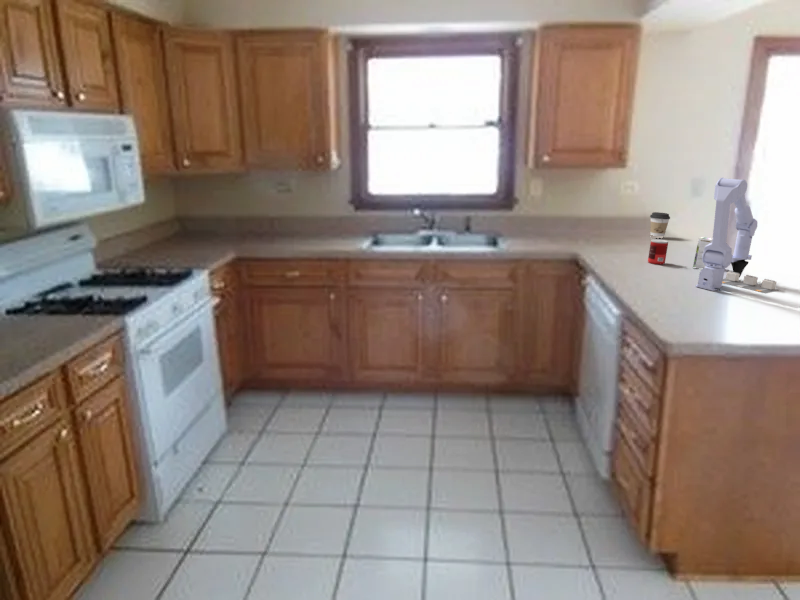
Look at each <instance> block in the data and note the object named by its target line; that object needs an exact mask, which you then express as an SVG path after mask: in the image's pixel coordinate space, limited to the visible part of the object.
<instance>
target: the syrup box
mask: <svg viewBox="0 0 800 600" xmlns="http://www.w3.org/2000/svg"><path fill="white" fill-rule="evenodd" d="M712 239H713V237H712V238H711V237H707V236H701V237H698V240H697V245H696V250H695V255H694V260H693V266H692V268H693V267H696V268H705V266H706V265H704V263H703V261H702V254H703V252H704V247H705V246H706V245H708V244H710V243H712Z"/></svg>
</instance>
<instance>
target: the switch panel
mask: <svg viewBox="0 0 800 600" xmlns="http://www.w3.org/2000/svg"><path fill="white" fill-rule="evenodd" d="M743 281H744V280H743ZM743 281H742V280H739V281H731V280H727V279H726V277H724V278H723V282H722V285H723V284H724V285H728V286H732V287H736V288H741V289H745V290H749V291H752V292H759V293H762V294H769V293H774V292H779V291H780V289H779V288H778V289H777V288H775V289H772V290H771V289H766V288H762V287H761V286H762V284H761V285H760V284H756V285H749V284H744V283H743Z"/></svg>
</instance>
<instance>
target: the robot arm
mask: <svg viewBox="0 0 800 600" xmlns="http://www.w3.org/2000/svg"><path fill="white" fill-rule="evenodd" d="M747 188H748V182H747V180H746V179H738V178H726V177H720V178H719V179H718V180H717V181H716V183H715V185H714V192H713V193H714V195H713V199H714V200H715V211H714V219H713V229H712V238H713V239H712V243H710V244H708V245H706V246H705V247H704V252H703V254H702V261H703V263H704V265H706V266H705V268H703V269H700V272H699V274H698V275H699V276H698V280H697V284H696V285H695V287H696V288H701V289H704V290H709V291H713V292H714V291H720V290H721V289H720V288H722V287H723V283H722V282H723V279H724V275H725V271H726V270H725V269H726V268H729V266H731V267H732V268H731V269H732V272H736V273H739V274H740V276H739V279H740V277H741V276H742V274H743V272H744V270H745V268H746V267H747V266H748V264H749V261H750V260H752V257H753V255H752V254H750V251H751V250H750V249H751V244H752V241H753V237H754V236H755V233H756V230H757V228H758V220H757V219H756V218H754V216H753V214H752V210H751V207H750V205H748V204H747V203H746V202H747V201H746V192H747ZM732 203H734V205H735V208H734V213H735V218H736V221H735V223H736V224H735V229H736V230H737V234H736V238H735V243H734V249H733V250H732V247H731V246H730V245H729V244H728V243H727V238H728V230H729V221H730V212H731V211H730V210H731V204H732ZM732 251H733V253H732Z"/></svg>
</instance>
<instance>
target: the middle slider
mask: <svg viewBox="0 0 800 600" xmlns="http://www.w3.org/2000/svg"><path fill="white" fill-rule="evenodd" d="M743 283H744V284H749V285H758V284H757V283H758V277H757V276H753V275H749V274H746V275H744V277H743Z"/></svg>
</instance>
